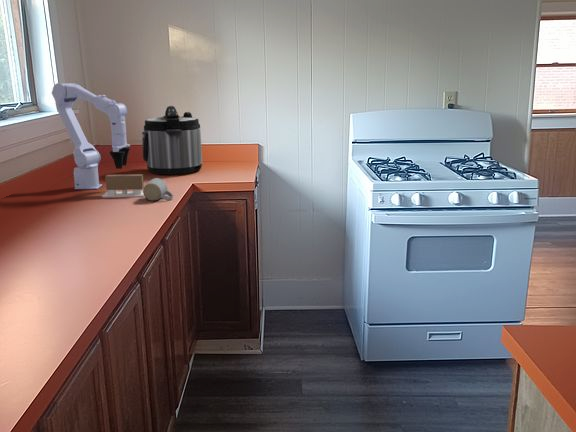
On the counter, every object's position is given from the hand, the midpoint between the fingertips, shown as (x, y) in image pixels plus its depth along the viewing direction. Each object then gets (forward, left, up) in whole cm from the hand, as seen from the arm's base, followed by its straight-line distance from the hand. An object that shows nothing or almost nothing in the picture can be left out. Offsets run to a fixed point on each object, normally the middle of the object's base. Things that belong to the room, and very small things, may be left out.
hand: (121, 166), depth 224 cm
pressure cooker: (+15, +44, -10) cm, 47 cm away
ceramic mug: (+18, -18, -10) cm, 27 cm away
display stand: (+3, -9, -10) cm, 14 cm away
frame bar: (+3, -9, -7) cm, 12 cm away
